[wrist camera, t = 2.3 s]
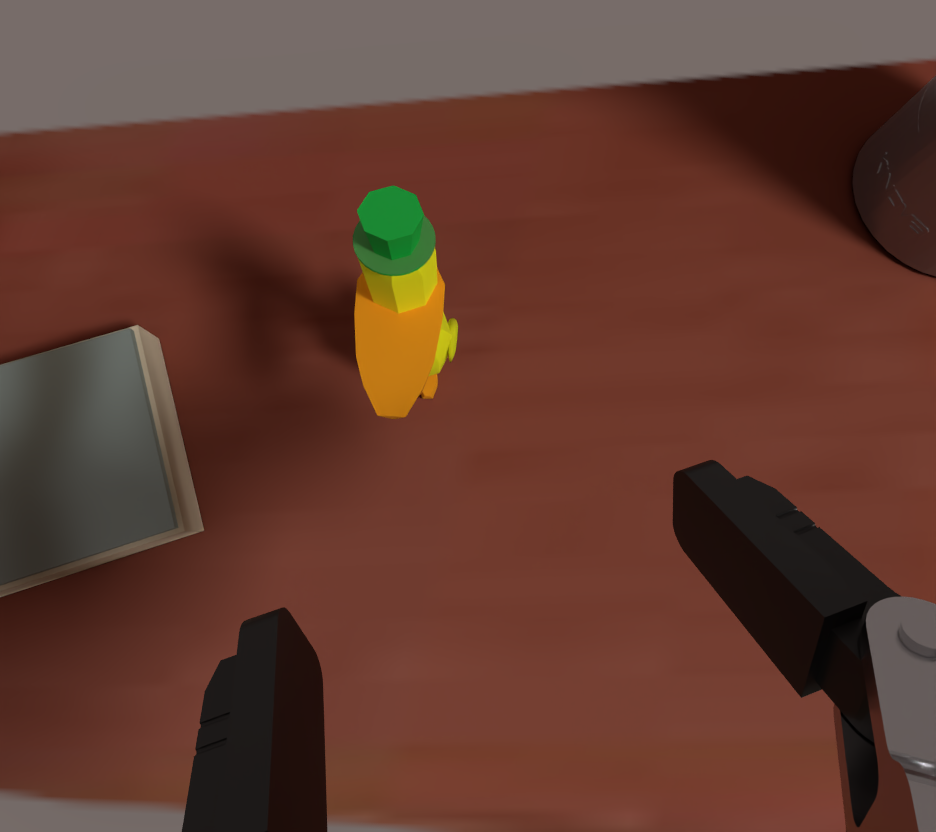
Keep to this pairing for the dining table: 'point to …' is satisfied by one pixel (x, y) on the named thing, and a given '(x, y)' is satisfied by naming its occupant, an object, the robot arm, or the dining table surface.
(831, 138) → the dining table surface
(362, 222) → the toy figure
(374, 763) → the dining table surface
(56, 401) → the stand
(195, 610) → the dining table surface
